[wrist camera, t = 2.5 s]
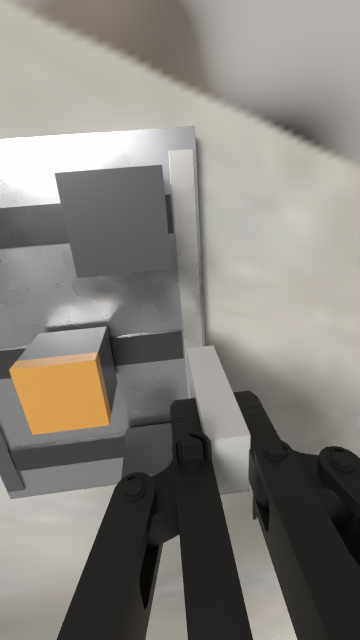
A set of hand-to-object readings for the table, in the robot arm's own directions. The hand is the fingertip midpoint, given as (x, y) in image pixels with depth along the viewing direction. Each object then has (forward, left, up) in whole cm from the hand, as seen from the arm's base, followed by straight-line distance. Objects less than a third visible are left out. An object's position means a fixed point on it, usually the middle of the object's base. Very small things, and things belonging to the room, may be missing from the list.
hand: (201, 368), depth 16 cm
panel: (-7, 0, -5) cm, 9 cm away
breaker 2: (-3, -8, -3) cm, 9 cm away
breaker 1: (-3, +8, -3) cm, 9 cm away
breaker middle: (-7, 0, -3) cm, 8 cm away
